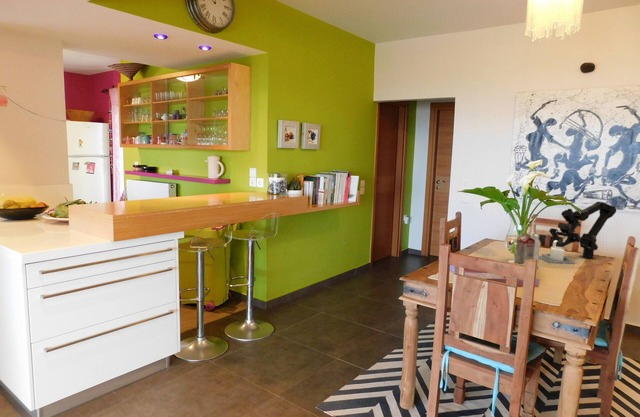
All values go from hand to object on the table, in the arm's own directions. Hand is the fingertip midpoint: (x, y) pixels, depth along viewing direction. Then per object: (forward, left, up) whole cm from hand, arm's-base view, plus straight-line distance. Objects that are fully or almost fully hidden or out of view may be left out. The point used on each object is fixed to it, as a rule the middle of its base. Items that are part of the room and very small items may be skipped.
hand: (557, 244), depth 271 cm
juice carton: (+28, -33, -11) cm, 45 cm away
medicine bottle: (0, 0, -10) cm, 10 cm away
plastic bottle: (+18, -23, -11) cm, 31 cm away
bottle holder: (0, 0, -10) cm, 10 cm away
